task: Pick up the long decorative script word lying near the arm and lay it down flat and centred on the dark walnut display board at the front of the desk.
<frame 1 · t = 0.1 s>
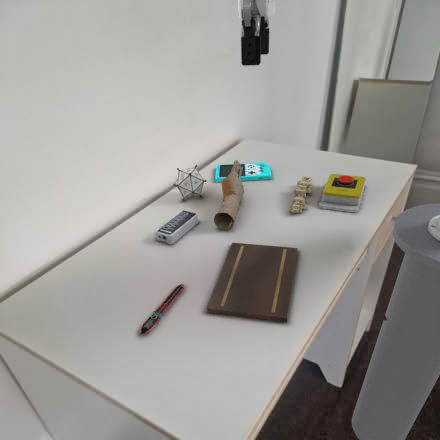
hand: (255, 59, 66), 33 cm above the table, tool pointing down, fingers open, 9 cm apart
game die: (191, 197, 100), on the table
pen: (164, 309, 67), on the table
multiport hub: (178, 231, 87), on the table
decorative script: (301, 200, 95), on the table
emergency button: (342, 197, 95), on the table
mannequin hand: (232, 205, 95), on the table
handheld game console: (242, 174, 109), on the table
display board: (256, 279, 72), on the table
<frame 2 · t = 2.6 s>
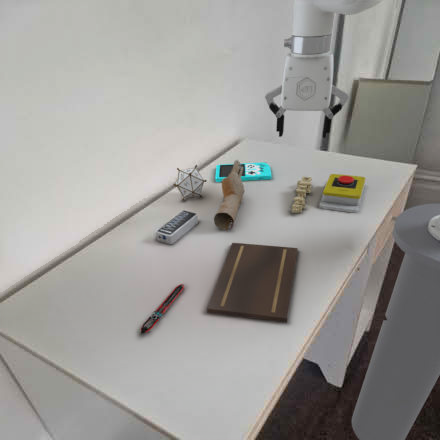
hand: (302, 135, 84), 16 cm above the table, tool pointing down, fingers open, 9 cm apart
nothing on the table moved.
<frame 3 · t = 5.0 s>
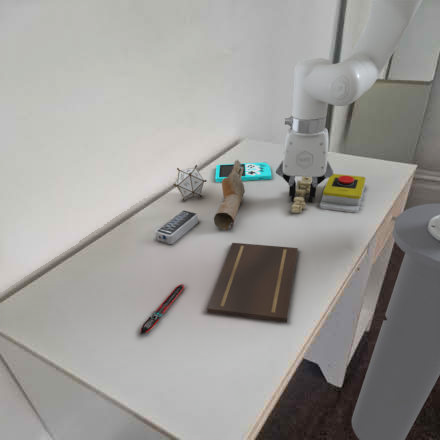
hand: (301, 198, 95), 0 cm above the table, tool pointing down, fingers closed on decorative script, 3 cm apart
decorative script: (301, 200, 95), on the table, touching gripper
everything else where it was.
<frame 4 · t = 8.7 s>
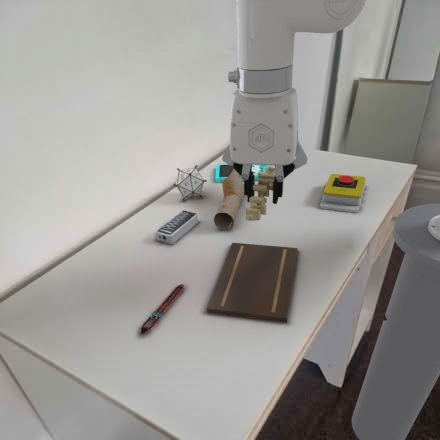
hand: (263, 198, 64), 15 cm above the table, tool pointing down, fingers closed on decorative script, 3 cm apart
decorative script: (262, 200, 64), point 15 cm above the table, touching gripper
everything else where it was.
when the fingers open (1 cm above the table, at t = 12.4 s): decorative script stays where it is, resting on display board.
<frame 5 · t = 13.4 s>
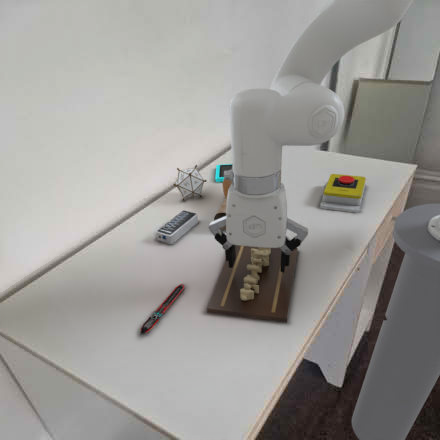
hand: (257, 265, 69), 3 cm above the table, tool pointing down, fingers open, 9 cm apart
decorative script: (255, 275, 71), point 1 cm above the table, touching display board
everything else where it was.
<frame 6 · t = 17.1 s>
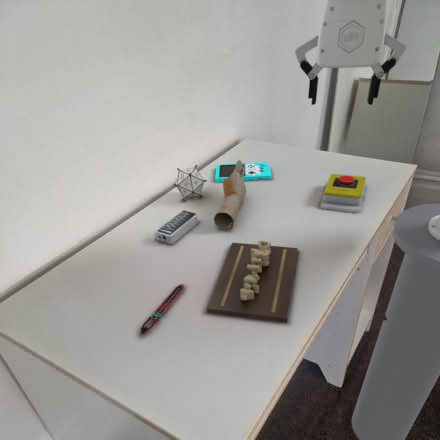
hand: (341, 102, 66), 26 cm above the table, tool pointing down, fingers open, 9 cm apart
nothing on the table moved.
at the end: decorative script 0.1 cm off-centre on the display board, point 0.8 cm above the display board's base; decorative script tilted 1°; the gripper is holding nothing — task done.
